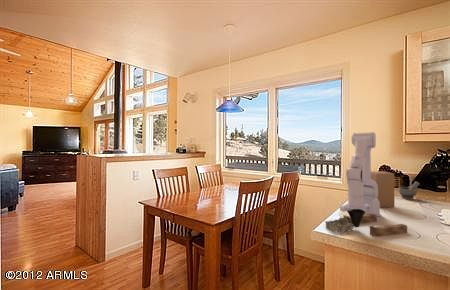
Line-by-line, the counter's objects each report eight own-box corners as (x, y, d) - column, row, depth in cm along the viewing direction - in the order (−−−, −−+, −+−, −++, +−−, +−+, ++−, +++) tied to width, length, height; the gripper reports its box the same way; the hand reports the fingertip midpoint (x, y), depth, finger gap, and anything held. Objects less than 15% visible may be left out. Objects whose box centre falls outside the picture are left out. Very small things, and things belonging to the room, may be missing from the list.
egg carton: (346, 225, 105) (346, 217, 105) (356, 232, 97) (356, 222, 97) (323, 226, 104) (323, 217, 104) (331, 232, 97) (331, 223, 97)
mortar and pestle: (398, 198, 152) (398, 181, 152) (398, 196, 160) (398, 179, 160) (420, 201, 145) (420, 182, 145) (419, 198, 153) (419, 180, 153)
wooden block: (384, 203, 142) (384, 171, 141) (395, 207, 132) (395, 173, 132) (368, 203, 143) (367, 171, 142) (377, 207, 133) (376, 173, 133)
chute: (372, 219, 112) (372, 212, 112) (407, 232, 95) (407, 224, 95) (343, 223, 108) (343, 215, 108) (374, 236, 91) (374, 228, 91)
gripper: (348, 198, 94) (348, 231, 94) (377, 196, 97) (377, 228, 97) (336, 194, 100) (336, 225, 101) (363, 192, 104) (363, 222, 104)
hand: (355, 226), depth 99 cm, fingers closed
